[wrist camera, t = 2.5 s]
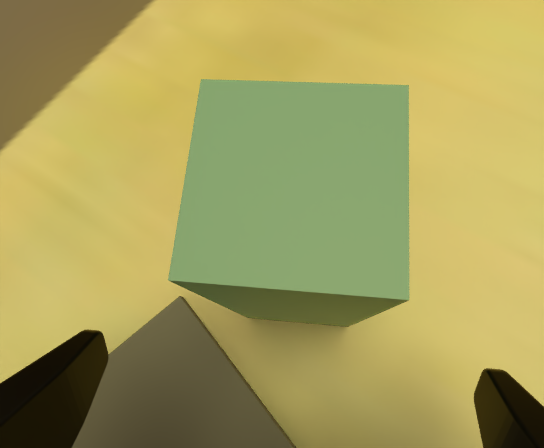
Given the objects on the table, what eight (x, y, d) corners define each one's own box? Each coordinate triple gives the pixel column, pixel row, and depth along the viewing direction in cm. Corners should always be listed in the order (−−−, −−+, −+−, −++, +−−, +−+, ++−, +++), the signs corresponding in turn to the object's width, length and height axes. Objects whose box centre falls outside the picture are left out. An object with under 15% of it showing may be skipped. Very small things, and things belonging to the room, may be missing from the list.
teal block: (351, 229, 21) (408, 85, 9) (347, 326, 20) (409, 300, 8) (258, 223, 22) (200, 79, 10) (248, 317, 21) (168, 279, 9)
